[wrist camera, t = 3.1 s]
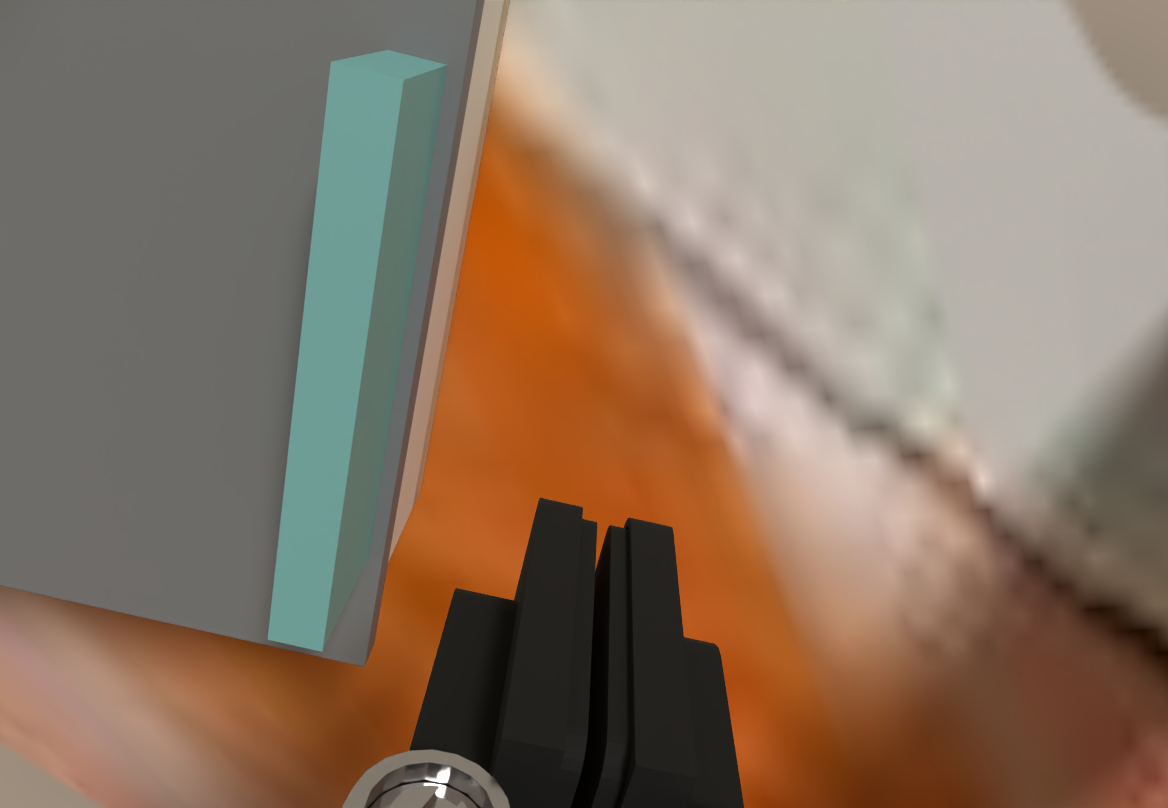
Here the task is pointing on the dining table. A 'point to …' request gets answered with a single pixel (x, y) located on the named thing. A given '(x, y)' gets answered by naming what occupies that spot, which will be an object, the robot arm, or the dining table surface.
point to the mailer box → (452, 252)
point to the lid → (220, 300)
